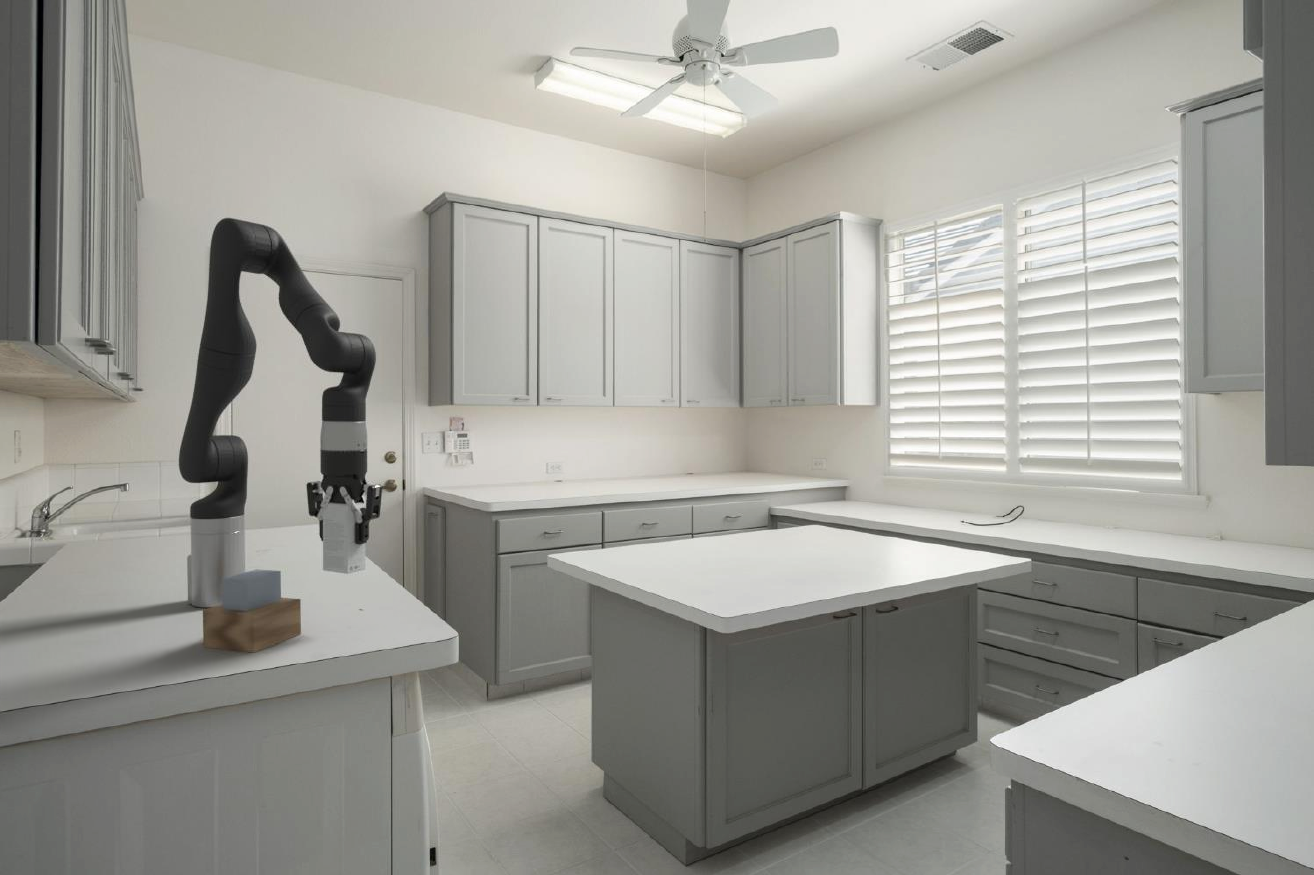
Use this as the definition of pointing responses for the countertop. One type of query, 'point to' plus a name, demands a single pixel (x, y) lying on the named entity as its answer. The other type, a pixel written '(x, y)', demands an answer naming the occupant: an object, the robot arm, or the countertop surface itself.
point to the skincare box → (341, 540)
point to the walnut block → (251, 626)
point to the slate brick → (251, 589)
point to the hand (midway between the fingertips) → (344, 542)
